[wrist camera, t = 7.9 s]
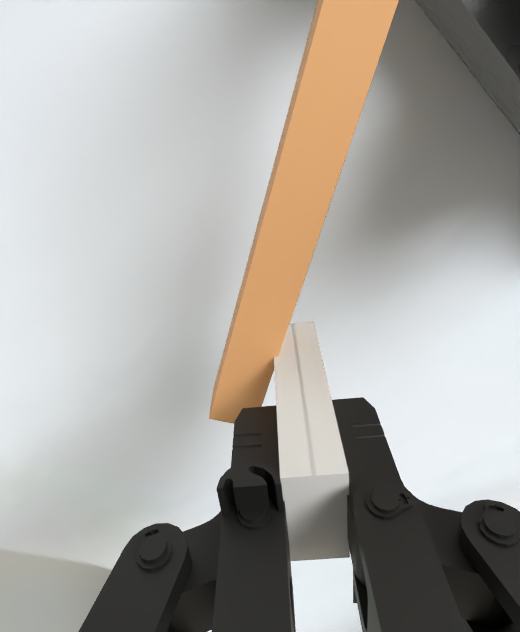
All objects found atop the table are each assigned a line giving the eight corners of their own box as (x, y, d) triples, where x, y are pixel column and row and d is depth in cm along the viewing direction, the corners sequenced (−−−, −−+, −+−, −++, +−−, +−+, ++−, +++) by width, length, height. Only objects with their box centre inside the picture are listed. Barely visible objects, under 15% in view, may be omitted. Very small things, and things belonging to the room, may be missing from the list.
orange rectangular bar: (361, -295, 11) (452, -626, 6) (457, -255, 11) (619, -534, 6) (208, 331, 19) (192, 415, 14) (266, 344, 19) (270, 431, 14)
